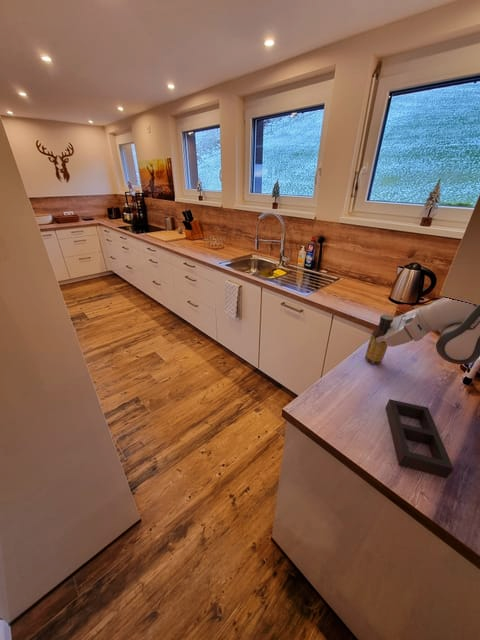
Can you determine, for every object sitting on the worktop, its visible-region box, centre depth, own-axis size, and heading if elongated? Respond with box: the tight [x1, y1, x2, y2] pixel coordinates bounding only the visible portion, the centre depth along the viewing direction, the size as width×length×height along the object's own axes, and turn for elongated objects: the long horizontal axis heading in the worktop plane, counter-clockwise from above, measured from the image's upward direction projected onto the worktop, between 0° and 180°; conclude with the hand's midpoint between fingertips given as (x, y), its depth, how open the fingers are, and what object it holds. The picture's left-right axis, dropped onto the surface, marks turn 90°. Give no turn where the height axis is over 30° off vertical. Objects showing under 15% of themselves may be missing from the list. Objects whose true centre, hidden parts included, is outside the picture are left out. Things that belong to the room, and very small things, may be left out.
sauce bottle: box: [364, 314, 394, 366], centre depth 99 cm, size 6×6×20 cm
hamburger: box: [393, 303, 417, 318], centre depth 137 cm, size 9×10×7 cm
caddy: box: [385, 399, 454, 479], centre depth 72 cm, size 11×20×4 cm, turn 163°
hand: (378, 336), depth 99 cm, fingers closed on sauce bottle, 6 cm apart
